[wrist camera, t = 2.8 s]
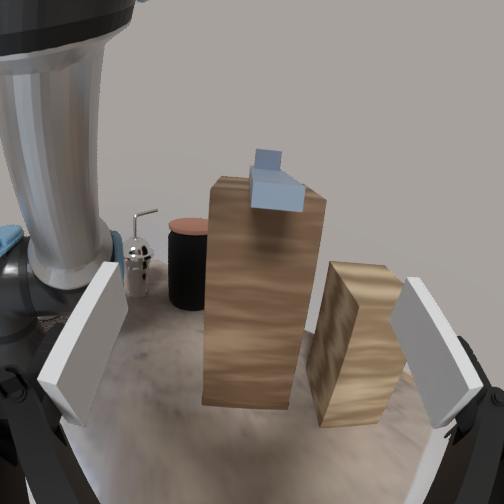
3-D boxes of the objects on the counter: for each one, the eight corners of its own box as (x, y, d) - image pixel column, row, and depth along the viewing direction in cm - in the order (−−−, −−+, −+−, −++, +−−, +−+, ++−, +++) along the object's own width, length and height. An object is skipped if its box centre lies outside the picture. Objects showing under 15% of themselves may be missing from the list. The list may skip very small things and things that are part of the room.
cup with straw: (125, 284, 74) (122, 205, 67) (159, 287, 75) (159, 206, 68) (116, 300, 66) (110, 213, 59) (154, 303, 67) (152, 215, 60)
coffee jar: (205, 287, 77) (208, 216, 71) (222, 308, 69) (228, 229, 63) (163, 293, 72) (163, 218, 66) (176, 315, 63) (176, 232, 58)
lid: (302, 212, 24) (309, 156, 23) (250, 207, 24) (256, 149, 22) (277, 182, 43) (280, 151, 42) (248, 179, 43) (251, 148, 41)
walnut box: (287, 409, 41) (328, 200, 32) (201, 404, 41) (208, 189, 31) (279, 352, 55) (304, 183, 45) (210, 347, 54) (219, 175, 45)
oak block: (376, 423, 38) (426, 307, 32) (319, 427, 38) (359, 306, 31) (354, 368, 51) (384, 265, 45) (306, 369, 51) (329, 261, 44)
